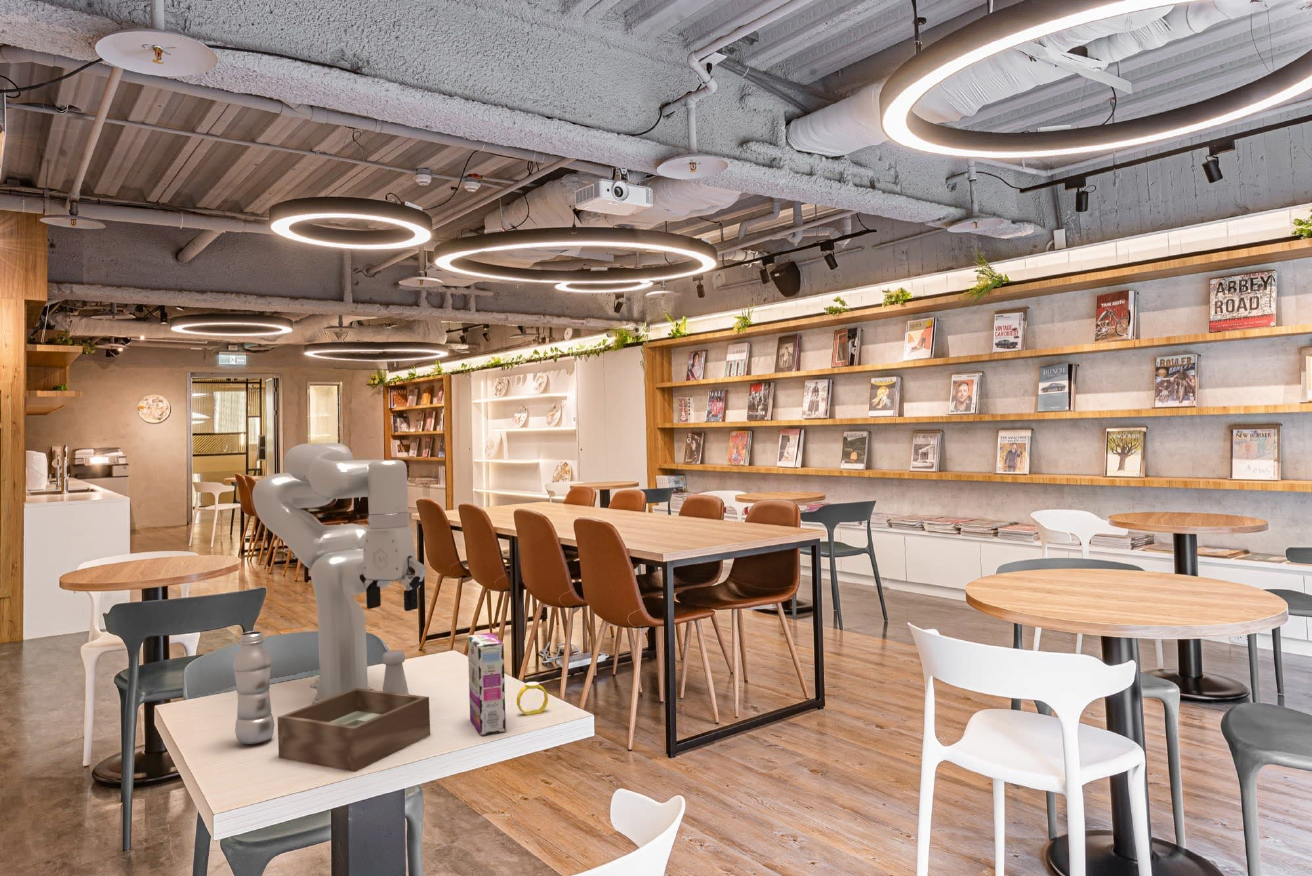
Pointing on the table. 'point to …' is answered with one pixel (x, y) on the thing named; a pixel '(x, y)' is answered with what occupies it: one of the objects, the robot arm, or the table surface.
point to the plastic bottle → (253, 690)
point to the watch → (532, 686)
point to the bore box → (353, 728)
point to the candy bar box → (486, 683)
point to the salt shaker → (394, 672)
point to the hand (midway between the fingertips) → (392, 608)
